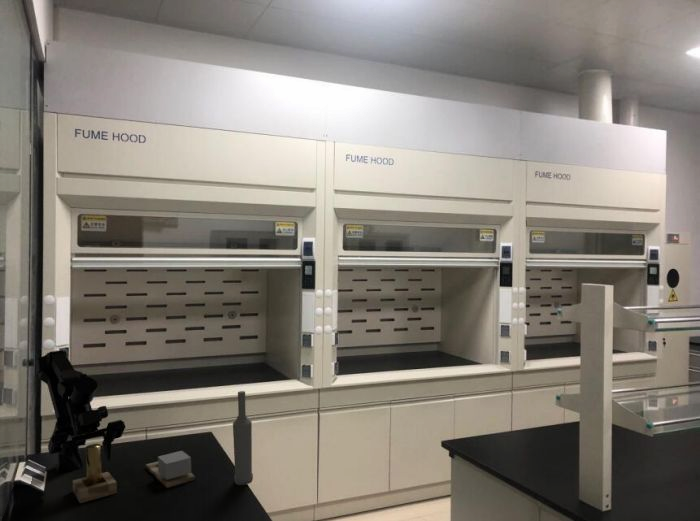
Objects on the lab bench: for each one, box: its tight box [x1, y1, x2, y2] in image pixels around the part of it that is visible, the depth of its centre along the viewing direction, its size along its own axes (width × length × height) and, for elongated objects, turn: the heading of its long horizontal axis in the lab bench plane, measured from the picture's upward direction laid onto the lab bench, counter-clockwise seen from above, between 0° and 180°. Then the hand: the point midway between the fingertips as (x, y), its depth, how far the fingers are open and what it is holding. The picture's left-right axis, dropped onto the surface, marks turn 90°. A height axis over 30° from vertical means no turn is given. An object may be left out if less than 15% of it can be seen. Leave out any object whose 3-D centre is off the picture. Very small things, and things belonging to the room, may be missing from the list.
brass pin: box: [85, 443, 103, 487], centre depth 145 cm, size 4×4×12 cm
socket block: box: [72, 471, 118, 504], centre depth 145 cm, size 9×9×3 cm
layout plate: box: [145, 461, 196, 489], centre depth 157 cm, size 18×8×1 cm, turn 38°
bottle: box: [232, 390, 254, 486], centre depth 150 cm, size 5×5×25 cm
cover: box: [157, 450, 192, 480], centre depth 154 cm, size 7×7×4 cm
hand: (95, 464), depth 144 cm, fingers open, 7 cm apart
